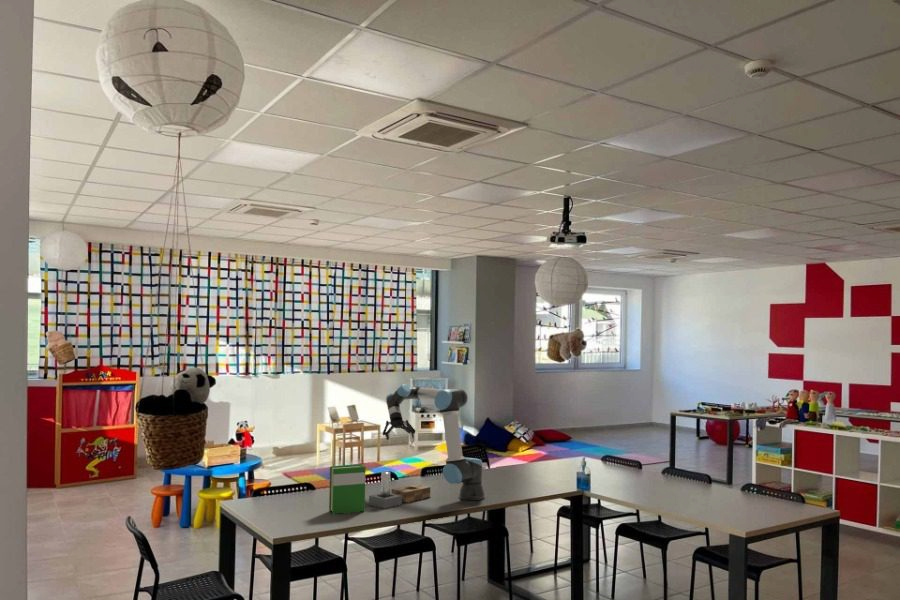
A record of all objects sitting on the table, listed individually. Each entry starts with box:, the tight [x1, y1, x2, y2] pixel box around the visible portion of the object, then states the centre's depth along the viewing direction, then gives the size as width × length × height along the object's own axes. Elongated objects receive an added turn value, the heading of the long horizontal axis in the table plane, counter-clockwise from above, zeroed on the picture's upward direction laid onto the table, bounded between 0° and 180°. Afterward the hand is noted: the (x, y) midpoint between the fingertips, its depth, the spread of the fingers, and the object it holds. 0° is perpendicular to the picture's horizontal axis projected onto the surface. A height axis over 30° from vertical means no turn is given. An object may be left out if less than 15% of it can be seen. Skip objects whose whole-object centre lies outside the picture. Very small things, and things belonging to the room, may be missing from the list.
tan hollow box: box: [391, 484, 431, 503], centre depth 401 cm, size 12×20×6 cm, turn 137°
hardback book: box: [328, 464, 366, 515], centre depth 369 cm, size 18×7×24 cm, turn 114°
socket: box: [368, 492, 403, 509], centre depth 385 cm, size 13×13×5 cm
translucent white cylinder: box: [380, 471, 391, 498], centre depth 385 cm, size 5×5×18 cm
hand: (401, 443), depth 411 cm, fingers open, 13 cm apart
